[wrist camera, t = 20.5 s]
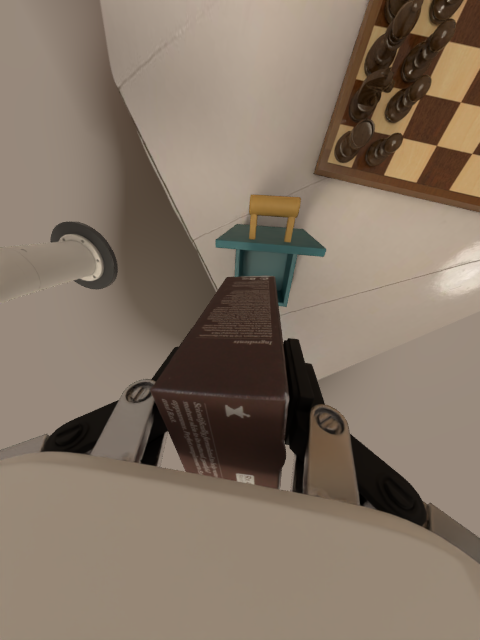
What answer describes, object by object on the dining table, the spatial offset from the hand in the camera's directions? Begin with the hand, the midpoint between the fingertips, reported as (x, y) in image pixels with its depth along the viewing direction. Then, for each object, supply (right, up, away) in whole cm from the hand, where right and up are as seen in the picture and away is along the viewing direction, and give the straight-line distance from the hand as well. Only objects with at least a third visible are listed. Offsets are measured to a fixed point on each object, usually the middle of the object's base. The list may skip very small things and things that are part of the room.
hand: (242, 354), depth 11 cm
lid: (+4, +14, +15) cm, 21 cm away
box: (+1, +3, +6) cm, 7 cm away
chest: (+6, +16, +33) cm, 37 cm away
